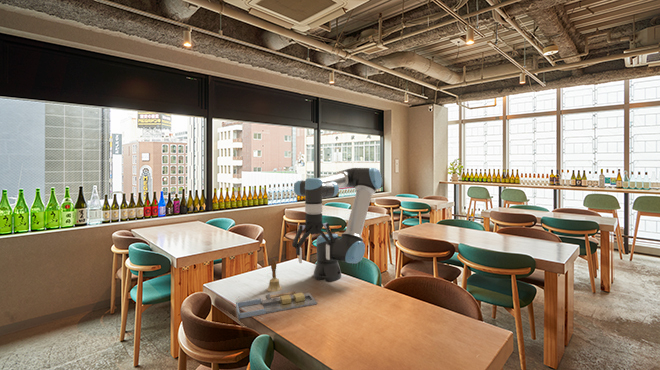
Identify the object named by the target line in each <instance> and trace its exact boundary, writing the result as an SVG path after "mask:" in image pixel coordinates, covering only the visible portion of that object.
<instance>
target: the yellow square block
mask: <svg viewBox="0 0 660 370" xmlns="http://www.w3.org/2000/svg"><path fill="white" fill-rule="evenodd" d="M292 295H293V301H294V302H295V303H298V302H304V301H305V296H304V293H303V292H296V294H292Z"/></svg>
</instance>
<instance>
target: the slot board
mask: <svg viewBox="0 0 660 370" xmlns="http://www.w3.org/2000/svg"><path fill="white" fill-rule="evenodd" d="M303 294H304V296H305V301H304V302H298V303H295V302H294V301H293V294H291V295H290V297H291V304H287V305H281V303H280V297H274V298H272V299H269V300H268V299H264V300H261V304H262V307H263V309H266V314H267V315H268V314H271V313H272V314H273V313H276V312H283V311H288V310H294V309H298V308H303V307H308V306H309V307H310V306H315V305H318V301H317V300H316V299H315V297H313V295H312V294H311V293H310V292H306V293H303Z"/></svg>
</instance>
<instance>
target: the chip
mask: <svg viewBox="0 0 660 370" xmlns="http://www.w3.org/2000/svg"><path fill="white" fill-rule="evenodd" d="M290 296H291V295H284V296H279V298H280V303H281V305H287V304H291V297H290Z"/></svg>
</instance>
